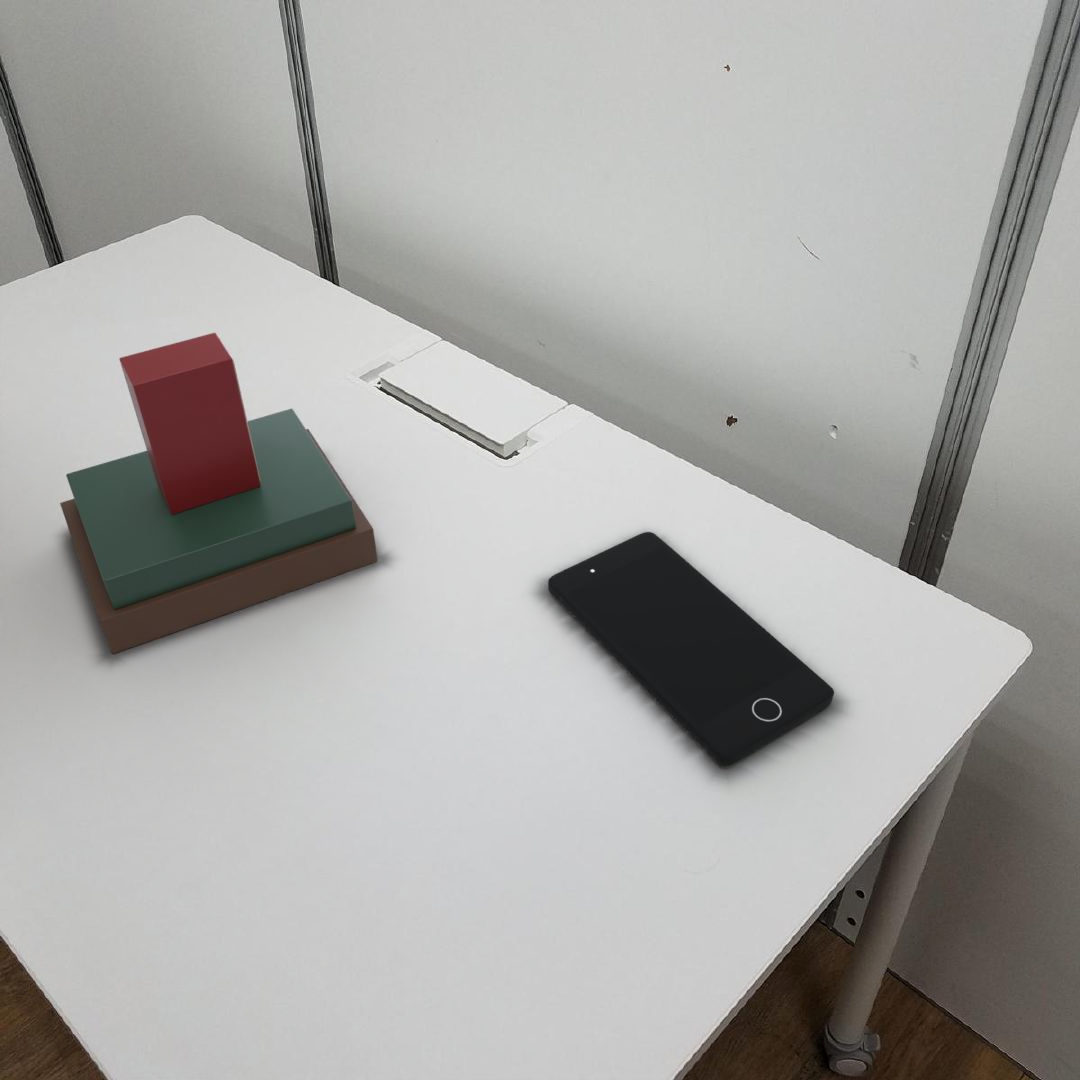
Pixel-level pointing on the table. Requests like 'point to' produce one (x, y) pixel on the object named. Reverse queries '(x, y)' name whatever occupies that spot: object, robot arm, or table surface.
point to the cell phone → (691, 646)
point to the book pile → (212, 537)
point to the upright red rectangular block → (192, 421)
